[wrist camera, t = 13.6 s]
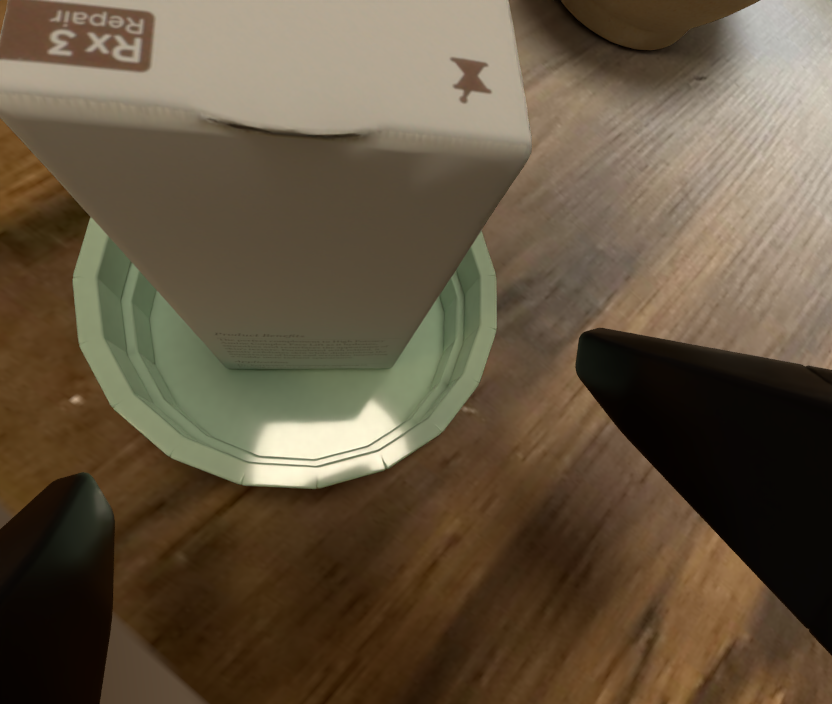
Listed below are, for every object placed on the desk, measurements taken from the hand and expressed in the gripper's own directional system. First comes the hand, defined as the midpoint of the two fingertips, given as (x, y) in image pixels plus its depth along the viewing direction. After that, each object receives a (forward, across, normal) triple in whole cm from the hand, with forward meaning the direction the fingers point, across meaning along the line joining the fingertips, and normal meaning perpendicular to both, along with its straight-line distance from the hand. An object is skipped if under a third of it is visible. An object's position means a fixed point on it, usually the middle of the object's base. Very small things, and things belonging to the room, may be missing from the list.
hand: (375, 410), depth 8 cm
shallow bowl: (+10, 0, +2) cm, 10 cm away
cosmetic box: (+9, 0, +2) cm, 10 cm away
